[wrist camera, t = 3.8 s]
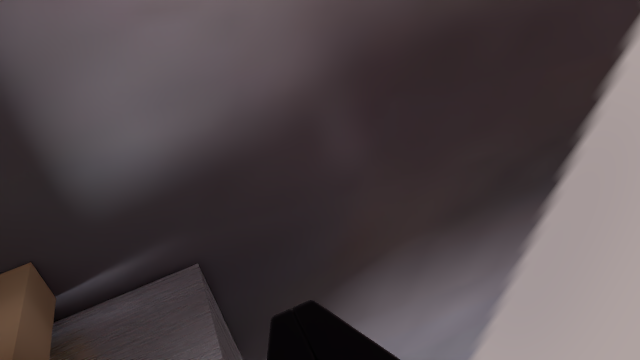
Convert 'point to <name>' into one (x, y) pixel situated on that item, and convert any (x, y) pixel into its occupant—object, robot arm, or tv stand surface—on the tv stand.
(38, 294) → the socket block
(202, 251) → the tv stand surface
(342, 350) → the robot arm
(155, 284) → the grey rectangular block
